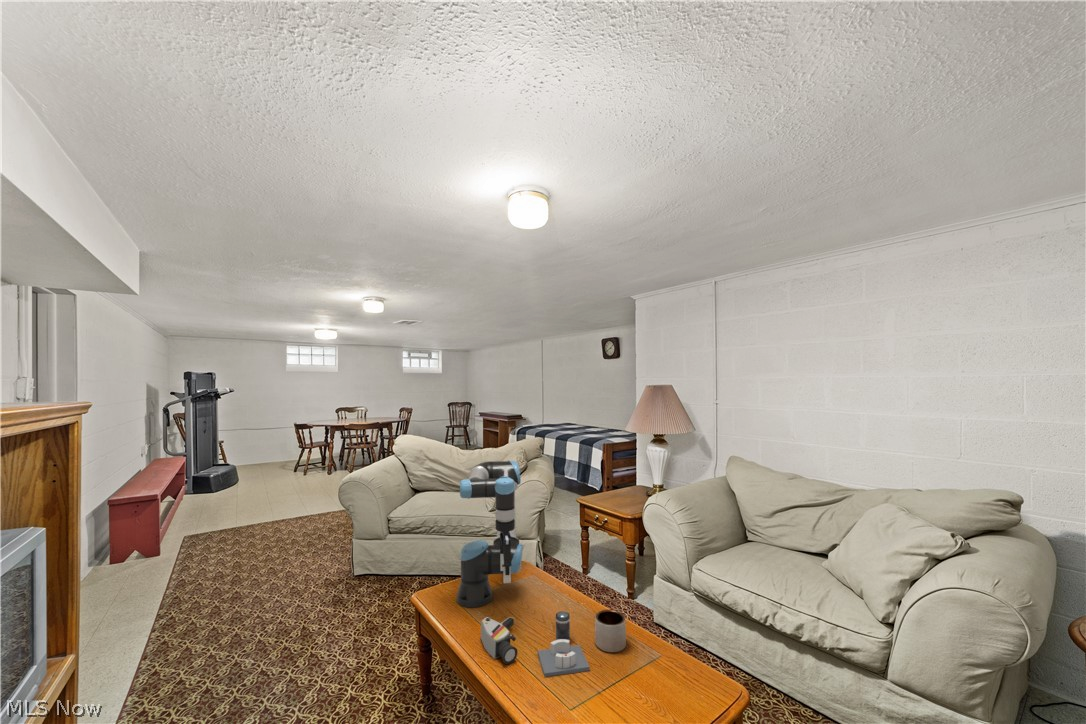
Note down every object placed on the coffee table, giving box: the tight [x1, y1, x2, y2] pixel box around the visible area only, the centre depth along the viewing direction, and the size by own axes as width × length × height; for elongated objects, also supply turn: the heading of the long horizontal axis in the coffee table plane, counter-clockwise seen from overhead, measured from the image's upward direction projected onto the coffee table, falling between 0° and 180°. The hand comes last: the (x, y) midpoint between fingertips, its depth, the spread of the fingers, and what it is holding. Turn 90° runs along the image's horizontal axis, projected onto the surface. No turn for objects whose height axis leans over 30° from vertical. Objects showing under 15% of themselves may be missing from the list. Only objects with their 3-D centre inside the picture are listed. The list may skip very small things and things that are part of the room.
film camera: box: [480, 616, 518, 665], centre depth 159 cm, size 7×19×15 cm
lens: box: [555, 610, 571, 641], centre depth 162 cm, size 5×5×9 cm
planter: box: [594, 609, 627, 654], centre depth 159 cm, size 11×11×10 cm
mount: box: [537, 639, 591, 678], centre depth 150 cm, size 12×15×5 cm
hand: (505, 576), depth 174 cm, fingers open, 10 cm apart
